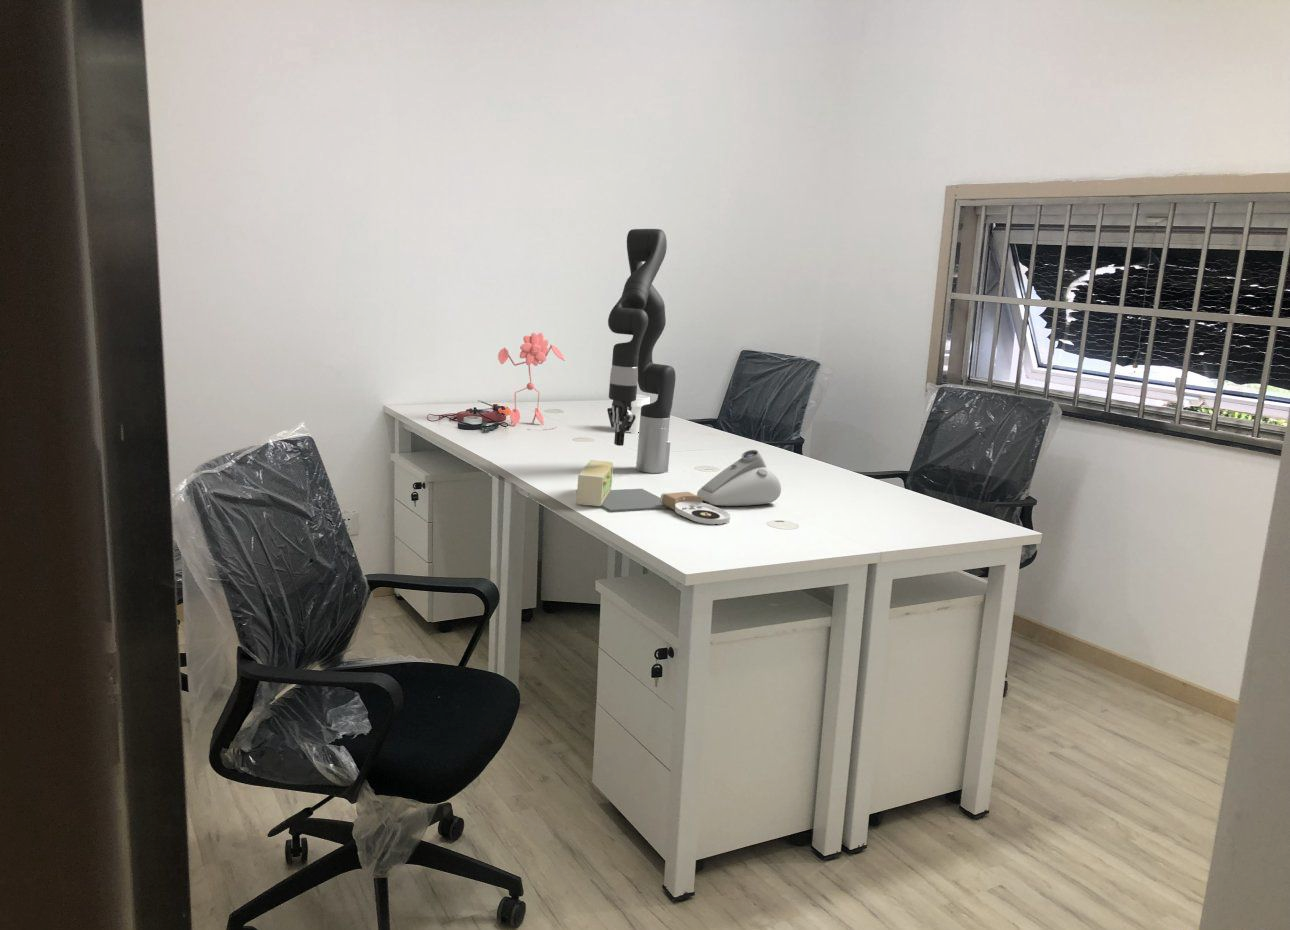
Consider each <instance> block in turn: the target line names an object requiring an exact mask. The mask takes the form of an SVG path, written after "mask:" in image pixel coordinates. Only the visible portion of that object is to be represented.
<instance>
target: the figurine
mask: <svg viewBox="0 0 1290 930" xmlns="http://www.w3.org/2000/svg"><path fill="white" fill-rule="evenodd" d="M522 338H523V342H524V343H523V344H521V345H520V347H519V349H520V350H521V351H520V353H519V358H520V359H525V361H522V362H519V363H515V362H514V360H513V359H512V358H511V356H510V354H509V350H508V349H507V348H506V347H503V348H502V349H500V350H499V352H498V353H497V354H498V355H497V359H498V361H499V363H500V364H501V365H503V364H505V363H506V362H507V361H508V359H509V360H510V362H511V363H512V364H513V365H514V367H516V366H519V365H523V364H525V365H527V366H528V374H529V375H528V376H529V382H528V383H527V384H526V387H525V388H522V389H520V390H517V391H515V392H514V408H513V409H512V410H511V412H510V416H509V418H510V424H511V425H513V426H514V427H515V426H516V425H517V424H519V422H520V420H521V413H520V411H519V409H518V408H517V398H516V396H517V395H516V394H517V393H519V392H521V391H524V390H529V391H532V390H533V389H534V391H536V392H537V393H538V395H537V407H536V408H535V409H534V416H533V419H532V422H531V423H532V424H534V423H535V420H536V419H537V420H538V421H539V423H541V424H542V425H544V424H545V423H544V417H543V414H542V412H541V411H540V410H539V403H540V392H539V391H538V390H537V388H536V387H535V385H534V384H533V382H532V375H531V365H533V366H535V367H537V366H538V365H543V363H544V362H545V361H547V356H548V354H549V352H550V351H551V350H552V351H553V354H555V356H556V357H558V359H561V360H562V361H565V357H564V354H563V353H562V351H560V349H559V348H558V347H556V346H555V345H553V344H550V346H549V347H548V345H549V339H544V334H543V332H540V333H538V334H536V333H535V332H532V333H531V335H525V336H523V337H522ZM553 428H554V427H553ZM553 428H551V430H554V429H553ZM556 428H557V426H556ZM548 429H549V428H545V429H544V431H547V430H548ZM527 431H530V429H527ZM548 431H549V430H548Z"/></svg>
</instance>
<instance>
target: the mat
mask: <svg viewBox="0 0 1290 930" xmlns="http://www.w3.org/2000/svg"><path fill="white" fill-rule="evenodd" d="M660 498H661V496H658V495H655V494H653V493H651V492H650V491H648V490H646V489H644V488H627V489H611V490H610V492H609V493H608V495H607V497H606V498H605V500H604V502H603V503H602V505H601V506H599V507H600V508H602V509H604V510H605V509H606V511H607V512H609V513H619V512H637V511H653V510H654V511H655V510H656V511H657V510H670V509H671V508H669V507H667V506H665V505H663V504H661V503H660ZM671 510H672V509H671Z"/></svg>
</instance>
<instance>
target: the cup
mask: <svg viewBox="0 0 1290 930" xmlns="http://www.w3.org/2000/svg"><path fill="white" fill-rule="evenodd" d="M650 399H651V397H650V396H648V395H644V394H637V395H636V400H635V401H632V402H631V407H632V410H631V413H632V415H635V416H636V418H635V420H634V422H633V424H632V426H631V428H630V430H629V431H626V432H631V433H630V434H639V433H638V432H639V425H640V415H641V414H640V413H641V407H642V406H643V405H646V404H651V403H650Z"/></svg>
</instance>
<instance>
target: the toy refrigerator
mask: <svg viewBox="0 0 1290 930" xmlns="http://www.w3.org/2000/svg"><path fill="white" fill-rule="evenodd" d="M613 470H614V461H605V460H597V459H596V460H595V459H590V460H589V462H587V464H586V465H585V466H584V468H583V469H582V470H580V473H578V475H577V491H576V504H577V505H586V506H595V507H600V506H601V505H602V503H603V502H604V500H605V498H606V497H607V495H608V493H609V492H610V490H612V485H613V484H612V483H613Z"/></svg>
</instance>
